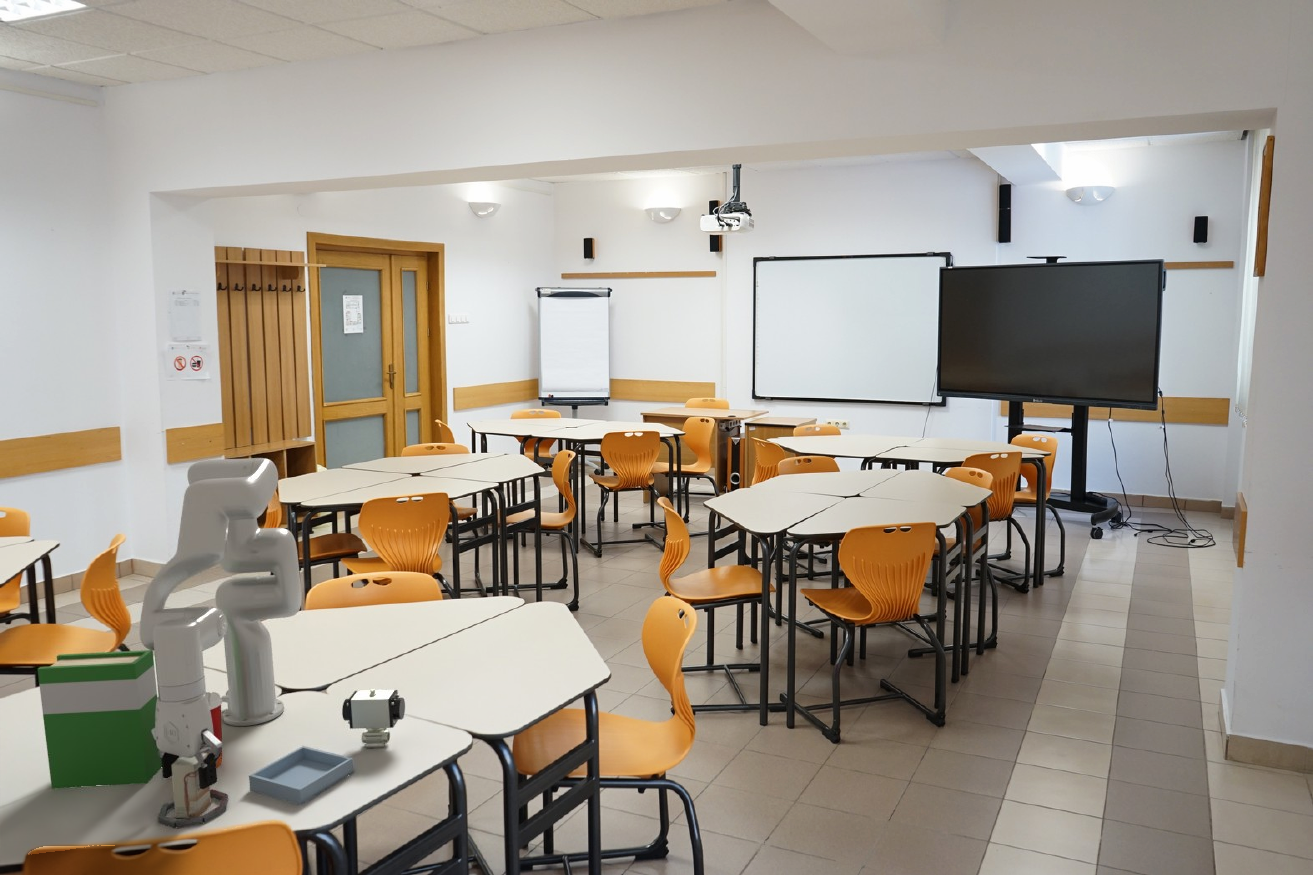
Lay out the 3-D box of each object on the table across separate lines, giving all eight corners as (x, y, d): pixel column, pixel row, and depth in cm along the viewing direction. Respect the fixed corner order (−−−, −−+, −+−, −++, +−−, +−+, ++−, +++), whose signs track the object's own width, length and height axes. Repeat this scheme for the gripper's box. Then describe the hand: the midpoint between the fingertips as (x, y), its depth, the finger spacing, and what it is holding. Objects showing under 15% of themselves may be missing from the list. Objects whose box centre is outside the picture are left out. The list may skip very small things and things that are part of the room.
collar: (146, 819, 169) (145, 813, 168) (199, 790, 178) (199, 785, 178) (187, 832, 164) (187, 827, 164) (240, 802, 173) (240, 797, 173)
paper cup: (194, 757, 192) (188, 691, 190) (233, 755, 192) (227, 689, 191) (178, 776, 184) (172, 707, 182) (219, 773, 185) (213, 705, 183)
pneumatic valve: (401, 749, 193) (397, 693, 191) (344, 750, 193) (340, 694, 192) (408, 737, 199) (405, 682, 197) (353, 738, 199) (349, 684, 197)
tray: (250, 790, 178) (248, 775, 177) (304, 759, 190) (303, 745, 189) (301, 805, 172) (300, 789, 172) (353, 772, 184) (352, 758, 183)
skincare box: (198, 818, 168) (193, 765, 167) (174, 818, 169) (169, 765, 167) (213, 803, 174) (208, 751, 172) (189, 803, 174) (184, 751, 172)
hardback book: (51, 788, 180) (37, 668, 177) (72, 770, 188) (59, 654, 184) (147, 783, 182) (134, 664, 178) (164, 764, 189) (152, 650, 186)
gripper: (130, 689, 168) (139, 780, 170) (196, 704, 161) (204, 799, 163) (168, 675, 175) (176, 763, 177) (233, 688, 167) (241, 780, 169)
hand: (190, 780), depth 170 cm, fingers open, 9 cm apart
